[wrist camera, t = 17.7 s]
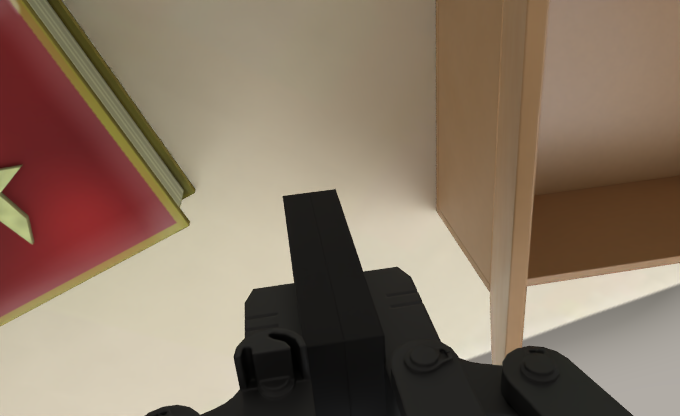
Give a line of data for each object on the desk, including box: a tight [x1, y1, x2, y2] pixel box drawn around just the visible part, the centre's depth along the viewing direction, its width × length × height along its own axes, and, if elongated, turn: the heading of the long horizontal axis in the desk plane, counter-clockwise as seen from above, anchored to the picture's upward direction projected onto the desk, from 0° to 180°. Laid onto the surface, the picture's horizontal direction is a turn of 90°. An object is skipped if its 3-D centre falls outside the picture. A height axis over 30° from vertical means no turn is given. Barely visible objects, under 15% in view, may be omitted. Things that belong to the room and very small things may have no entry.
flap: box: [490, 0, 550, 365], centre depth 18 cm, size 9×14×1 cm
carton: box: [436, 0, 680, 292], centre depth 27 cm, size 19×14×8 cm
